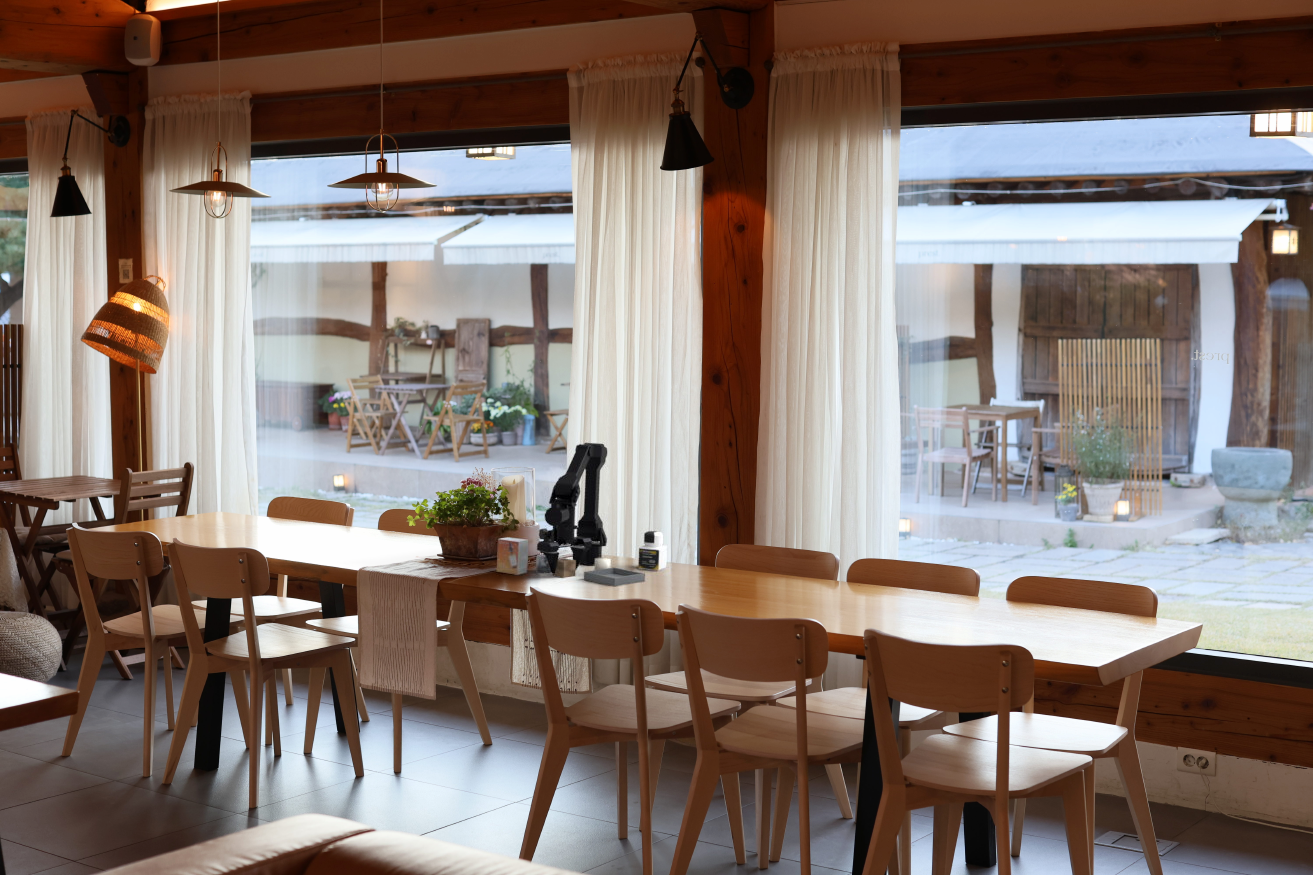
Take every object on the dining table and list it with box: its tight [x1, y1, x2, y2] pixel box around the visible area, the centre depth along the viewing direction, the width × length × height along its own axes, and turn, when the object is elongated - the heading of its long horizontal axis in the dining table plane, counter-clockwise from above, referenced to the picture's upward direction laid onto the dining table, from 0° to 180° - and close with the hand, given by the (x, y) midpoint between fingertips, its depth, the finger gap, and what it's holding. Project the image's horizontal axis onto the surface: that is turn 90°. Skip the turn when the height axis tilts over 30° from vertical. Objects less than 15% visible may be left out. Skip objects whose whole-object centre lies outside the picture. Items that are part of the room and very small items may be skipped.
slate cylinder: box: [535, 554, 552, 574], centre depth 406 cm, size 5×5×5 cm
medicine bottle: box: [637, 530, 668, 572], centre depth 418 cm, size 7×7×12 cm
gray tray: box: [583, 566, 646, 587], centre depth 395 cm, size 13×13×2 cm
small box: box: [496, 536, 529, 576], centre depth 402 cm, size 8×6×10 cm
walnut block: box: [552, 557, 577, 579], centre depth 400 cm, size 5×5×5 cm
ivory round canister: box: [593, 557, 612, 570], centre depth 404 cm, size 5×5×5 cm
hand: (564, 571), depth 400 cm, fingers open, 9 cm apart
